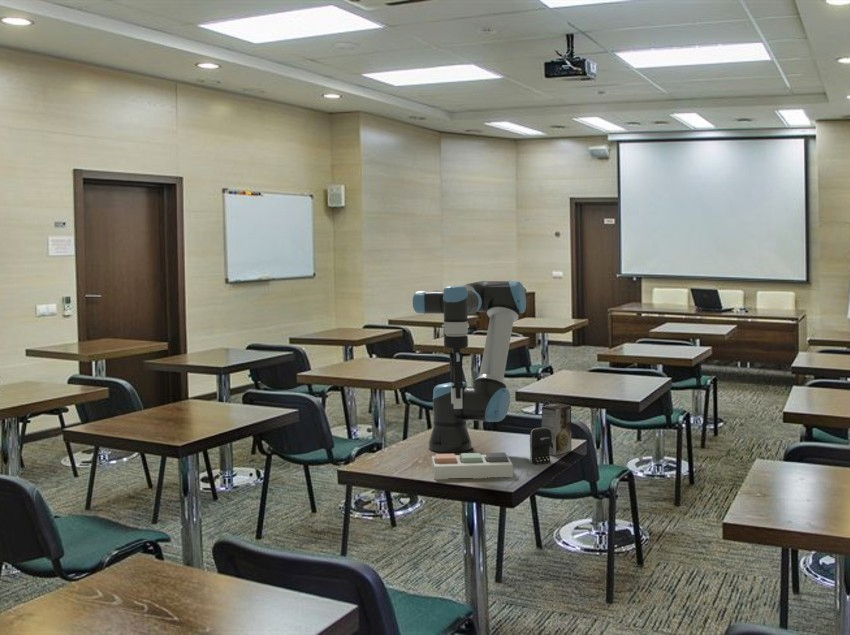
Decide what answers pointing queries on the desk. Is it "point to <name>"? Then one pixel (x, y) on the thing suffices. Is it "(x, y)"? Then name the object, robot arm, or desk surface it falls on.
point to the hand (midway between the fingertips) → (456, 405)
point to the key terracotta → (445, 458)
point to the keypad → (471, 469)
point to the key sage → (471, 458)
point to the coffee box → (558, 427)
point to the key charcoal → (496, 457)
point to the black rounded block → (540, 445)
